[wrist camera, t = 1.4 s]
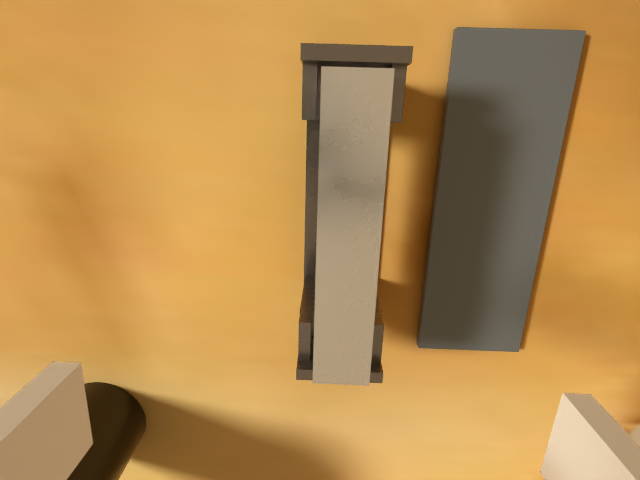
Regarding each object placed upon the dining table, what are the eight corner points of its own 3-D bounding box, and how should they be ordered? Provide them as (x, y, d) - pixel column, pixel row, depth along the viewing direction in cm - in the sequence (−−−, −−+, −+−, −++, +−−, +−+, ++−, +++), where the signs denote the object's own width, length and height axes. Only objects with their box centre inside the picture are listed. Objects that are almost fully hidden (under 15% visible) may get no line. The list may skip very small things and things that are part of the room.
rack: (308, 62, 29) (298, 38, 20) (388, 65, 29) (415, 42, 20) (303, 314, 36) (294, 381, 27) (369, 317, 36) (383, 385, 26)
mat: (453, 29, 28) (457, 27, 28) (579, 32, 28) (586, 30, 28) (416, 343, 36) (418, 348, 35) (514, 346, 36) (518, 351, 35)
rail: (323, 75, 23) (321, 66, 19) (382, 77, 23) (394, 68, 19) (315, 343, 28) (312, 383, 24) (363, 345, 28) (369, 385, 24)
